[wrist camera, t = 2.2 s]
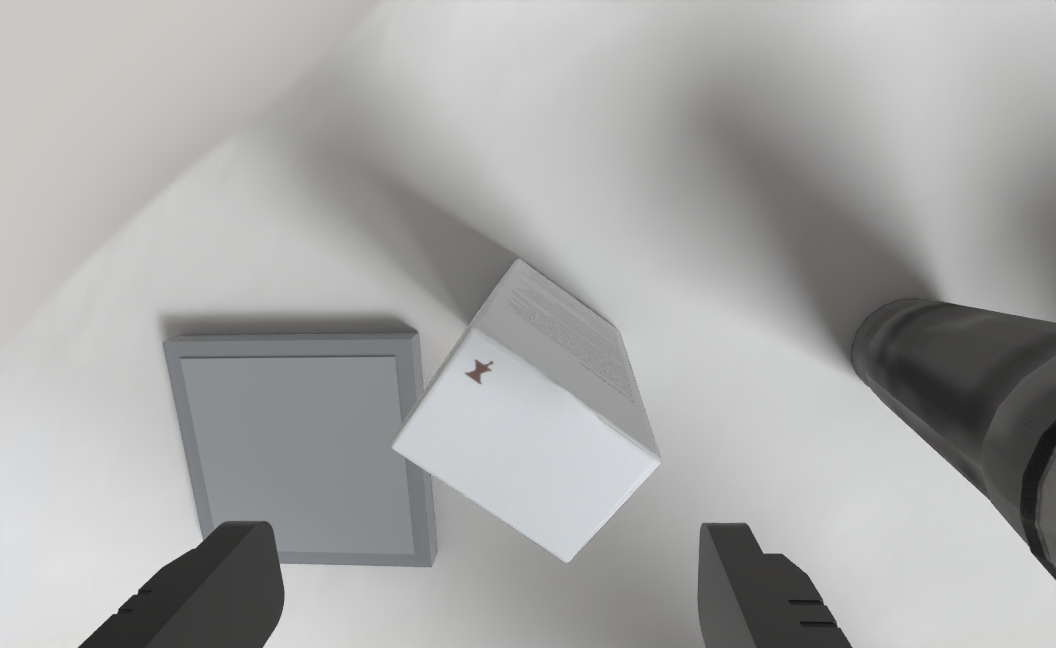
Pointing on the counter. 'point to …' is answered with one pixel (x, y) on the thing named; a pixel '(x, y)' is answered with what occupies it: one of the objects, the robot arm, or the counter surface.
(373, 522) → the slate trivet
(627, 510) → the counter surface
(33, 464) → the counter surface
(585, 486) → the skincare box
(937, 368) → the beverage cup
